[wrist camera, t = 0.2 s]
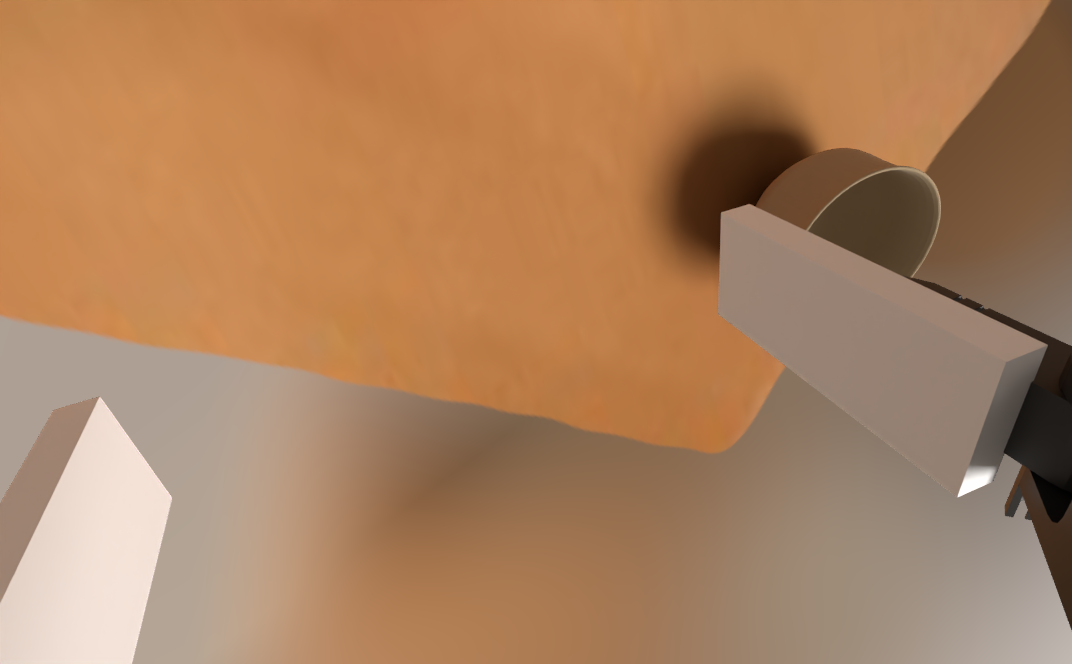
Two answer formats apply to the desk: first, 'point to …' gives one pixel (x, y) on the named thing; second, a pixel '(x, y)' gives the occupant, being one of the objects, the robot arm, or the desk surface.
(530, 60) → the desk surface
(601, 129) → the desk surface
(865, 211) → the bowl
